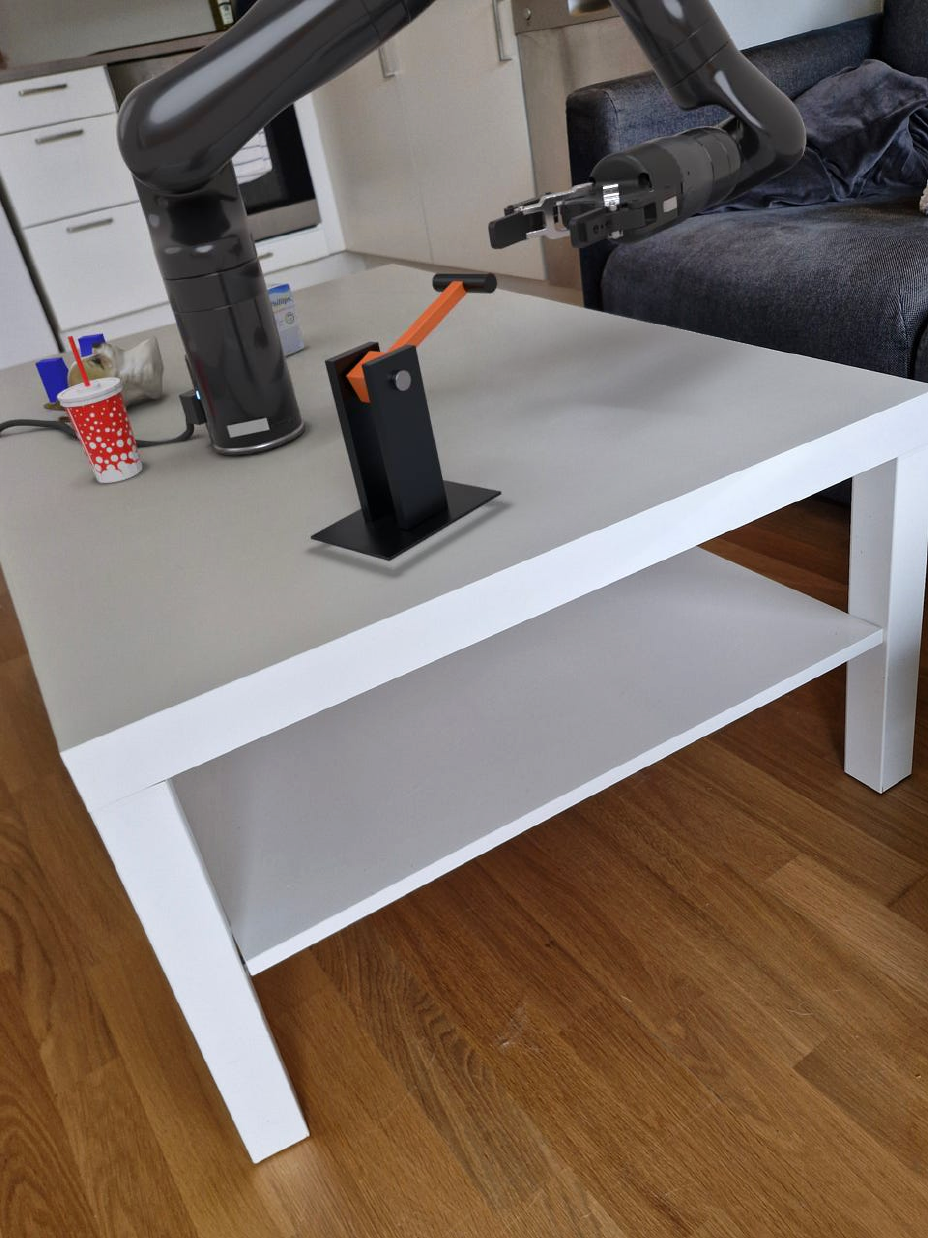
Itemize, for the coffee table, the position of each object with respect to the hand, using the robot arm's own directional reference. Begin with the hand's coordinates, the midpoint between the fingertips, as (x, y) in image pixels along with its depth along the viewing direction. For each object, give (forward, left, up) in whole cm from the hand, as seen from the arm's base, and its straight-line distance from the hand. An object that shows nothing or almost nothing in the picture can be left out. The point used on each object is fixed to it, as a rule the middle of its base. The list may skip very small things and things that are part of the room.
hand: (531, 235), depth 82 cm
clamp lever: (0, -13, -5) cm, 14 cm away
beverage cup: (-40, -22, -17) cm, 49 cm away
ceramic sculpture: (-62, -10, -17) cm, 65 cm away
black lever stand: (0, -19, -17) cm, 25 cm away
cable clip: (-77, -7, -17) cm, 79 cm away
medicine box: (-60, +13, -17) cm, 64 cm away
